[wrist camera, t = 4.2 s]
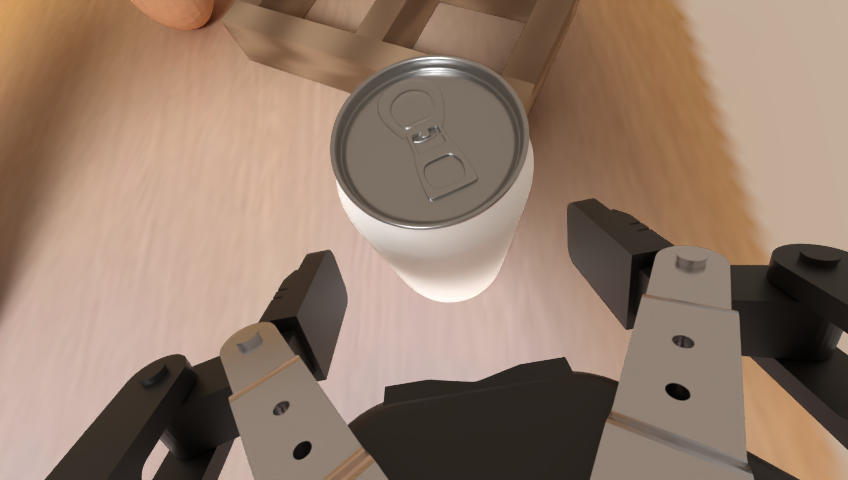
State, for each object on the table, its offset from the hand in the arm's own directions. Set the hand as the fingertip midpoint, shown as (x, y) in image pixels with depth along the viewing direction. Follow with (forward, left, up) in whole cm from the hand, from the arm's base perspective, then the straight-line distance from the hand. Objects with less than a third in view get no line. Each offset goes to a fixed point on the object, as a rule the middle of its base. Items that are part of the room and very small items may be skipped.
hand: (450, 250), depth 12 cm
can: (-2, +2, -9) cm, 9 cm away
